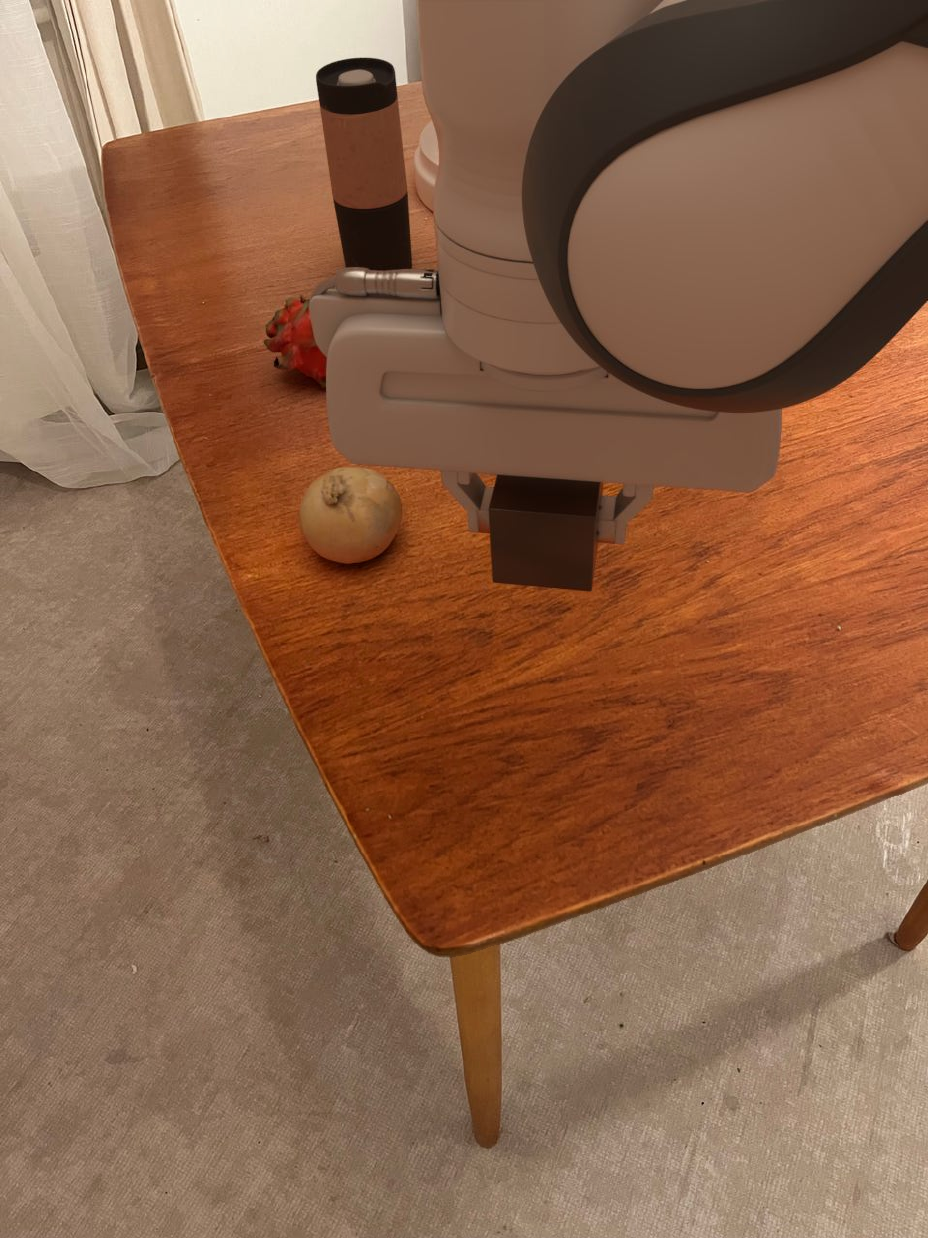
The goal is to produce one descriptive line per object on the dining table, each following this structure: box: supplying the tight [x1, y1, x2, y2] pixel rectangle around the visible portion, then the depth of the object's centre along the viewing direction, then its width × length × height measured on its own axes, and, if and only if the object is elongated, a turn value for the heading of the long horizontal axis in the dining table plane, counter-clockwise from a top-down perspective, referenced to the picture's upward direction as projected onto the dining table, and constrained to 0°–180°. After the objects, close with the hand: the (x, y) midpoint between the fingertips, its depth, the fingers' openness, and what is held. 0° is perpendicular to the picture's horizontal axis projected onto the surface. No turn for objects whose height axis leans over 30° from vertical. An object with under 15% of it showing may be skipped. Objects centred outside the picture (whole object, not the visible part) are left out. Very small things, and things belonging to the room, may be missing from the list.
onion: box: [298, 466, 403, 565], centre depth 75 cm, size 8×8×7 cm
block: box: [488, 475, 604, 593], centre depth 49 cm, size 5×5×5 cm
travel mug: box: [315, 57, 413, 271], centre depth 99 cm, size 8×8×20 cm
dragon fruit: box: [262, 294, 327, 388], centre depth 91 cm, size 8×8×12 cm
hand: (548, 530), depth 49 cm, fingers closed on block, 5 cm apart
